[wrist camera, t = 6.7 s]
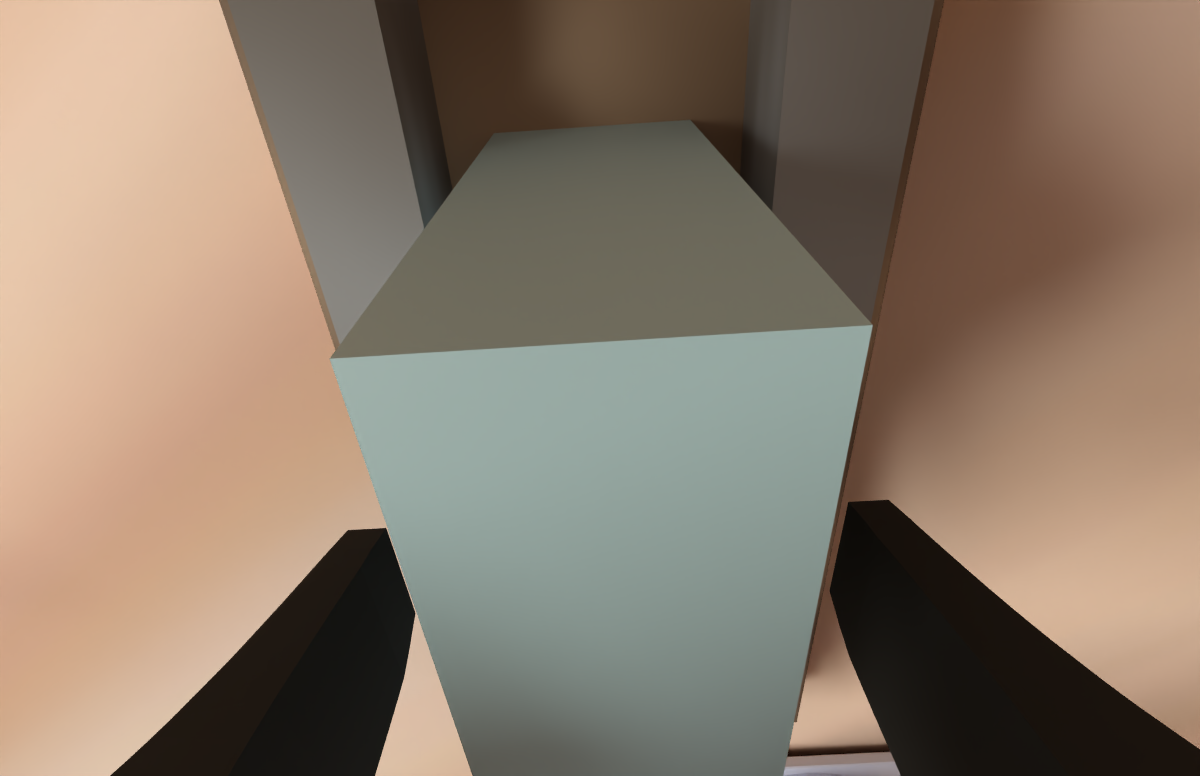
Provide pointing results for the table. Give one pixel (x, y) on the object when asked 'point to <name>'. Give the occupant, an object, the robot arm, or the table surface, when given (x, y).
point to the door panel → (610, 452)
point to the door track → (585, 115)
